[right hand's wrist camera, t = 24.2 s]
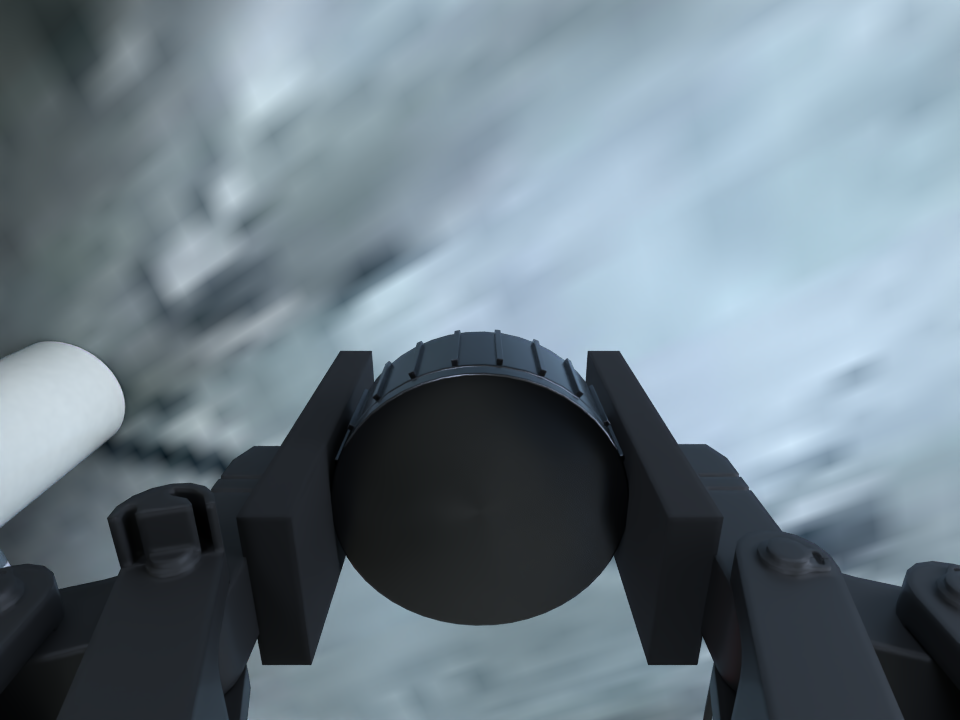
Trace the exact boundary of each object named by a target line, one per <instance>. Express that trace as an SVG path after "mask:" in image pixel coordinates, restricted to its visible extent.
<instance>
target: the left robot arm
mask: <svg viewBox="0 0 960 720" xmlns="http://www.w3.org/2000/svg"><path fill="white" fill-rule="evenodd" d="M7 566H11V565H10V564H9V562H8V561H7V558H6V557H5V555H4V554H3V552H2V550H1V549H0V568H4V567H7Z"/></svg>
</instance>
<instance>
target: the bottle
mask: <svg viewBox="0 0 960 720" xmlns="http://www.w3.org/2000/svg"><path fill="white" fill-rule="evenodd" d="M124 414H125V400H124V395H123V392H122V389H121V386H120V384H119V382H118V381H117V379H116V377H115V376H114V374H113V373H112V372H111V370H110V369H109V368H108V367H107V366H106V365H105V364H104V363H103V362H102V361H101V360H100V359H98V358H97V357H96V356H94V355H93V354H91V353H89V352H88V351H86V350H84V349H82V348H80V347H77V346H74V345H72V344H68V343H63V342H55V341H45V342H38V343H34V344H31V345H29V346H26V347H24V348H22V349H20V350H18V351H16V352H13V353H11V354H9V355H7V356H5V357H3V358H0V528H1V527H2V526H3V525H5V524H6V523H7V522H8V521H10V520H11V519H12V518H13V517H14V516H16V515H17V514H18V513H19V512H21V511H22V510H23V509H24V508H26V507H27V506H28V505H29V504H30V503H32V502H33V501H34V500H35V499H37V498H38V497H39V496H40V495H41V494H43V493H44V492H45V491H46V490H48V489H49V488H50V487H51V486H53V485H54V484H55V483H56V482H57V481H59V480H60V479H61V478H62V477H64V476H65V475H66V474H67V473H69V472H70V471H71V470H72V469H73V468H75V467H76V466H77V465H78V464H80V463H81V462H82V461H83V460H85V459H86V458H87V457H88V456H89V455H91V454H92V453H93V452H94V451H96V450H97V449H98V448H99V447H100V446H102V445H103V444H104V443H105V442H107V441H108V440H109V439H110V438H111V437H113V436H114V435H115V434H116V432H117V431H118V430H119V428H120V426H121V424H122V422H123V419H124Z"/></svg>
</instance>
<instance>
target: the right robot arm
mask: <svg viewBox="0 0 960 720" xmlns="http://www.w3.org/2000/svg"><path fill="white" fill-rule="evenodd" d="M373 383H374V375H373V361H372V351H340V352H339V354H338V356H337V357H336V359H335V360H334V362H333V364H332V365H331V367H330V368H329V370H328V371H327V373H326V375H325V376H324V378H323V379H322V381H321V383H320V384H319V386H318V387H317V389H316V391H315V392H314V394H313V395H312V397H311V399H310V400H309V402H308V403H307V405H306V406H305V408H304V410H303V411H302V413H301V414H300V416H299V418H298V419H297V421H296V422H295V424H294V426H293V427H292V429H291V430H290V432H289V433H288V435H287V437H286V438H285V440H284V441H283V443H282V445H281V446H253V447H252V448H250V449H249V450H247V451H246V452H244V453H243V454H241V455H240V456H238V457H237V458H235V459H234V460H233V461H232V462H231V463H230V465H229V466H228V467H227V469H226V470H225V471H224V473H223V474H222V475H221V479H218V481H217V482H216V483H215V485H214V486H213V488H212V489H211V491H210V490H209V489H208V488H207V487H205V486H202V485H197V484H193V483H178V484H169V485H164V486H160V487H155V488H151V489H149V490H147V491H144V492H142V493H139V494H137V495H134V496H132V497H131V498H129V499H128V500H126V501H124V502H123V503H121V504H120V505H118V506H117V507H116V508H115V509H114V510H113V512H112V513H111V514H110V515H109V516H108V518H107V520H108V523H109V527H110V531H111V534H112V538H113V541H114V545H115V549H116V552H117V556H118V560H119V563H120V567H121V569H120V572H119V574H118V576H116V577H112V578H108V579H105V580H100V581H96V582H91V583H86V584H81V585H77V586H72V587H67V588H63V589H58V586H57V583H56V580H55V577H54V574H53V572H51V571H50V570H49V569H47V568H46V567H45V566H41V565H33V564H23V565H15V566H7V567H4V568H0V720H247V717H248V707H249V698H250V681H249V675H248V670H247V664H246V663H247V661H248V659H249V656H250V654H251V652H252V649H253V647H254V645H255V643H256V640H257V638H258V644H259V650H260V655H261V661H262V665H311V664H312V661H313V658H314V655H315V652H316V649H317V645H318V642H319V639H320V636H321V633H322V629H323V626H324V623H325V620H326V617H327V614H328V610H329V607H330V604H331V601H332V598H333V594H334V591H335V588H336V585H337V582H338V579H339V575H340V572H341V569H342V566H343V563H344V559H345V556H346V555H345V553H344V551H343V549H342V546H341V544H340V542H339V540H338V537H337V534H336V531H335V528H334V523H333V514H332V505H331V484H332V478H333V473H334V469H335V466H336V464H335V457H336V455H337V453H338V450H339V448H340V446H341V444H342V441H343V439H344V437H345V434H346V432H347V430H348V429H347V427H348V424H349V422H350V420H351V418H352V415H353V413H354V411H355V409H356V406H357V404H358V402H359V400H360V397H361V395H362V393H363V391H364V389H365V388H366V389H368V390H369V389H370V387H371V386H372V385H373ZM586 383H587V385H588V386H591V385H593V387H594V388H595V390H596V393H597V395H598V397H599V399H600V401H601V404H602V406H603V408H604V410H605V413H606V415H607V417H608V419H609V422H610V424H611V426H612V428H613V431H614V433H615V435H616V437H617V440H618V442H619V444H620V446H621V449H622V451H623V453H624V456H625V460H622V461H623V463H624V466H625V470H626V474H627V478H628V485H629V501H628V511H627V520H626V527H625V531H624V534H623V536H622V539H621V542H620V544H619V547H618V548H617V550H616V552H615V554H614V557H615V561H616V564H617V567H618V570H619V573H620V576H621V580H622V583H623V586H624V589H625V592H626V596H627V599H628V602H629V605H630V608H631V612H632V615H633V618H634V621H635V624H636V627H637V631H638V634H639V637H640V640H641V643H642V647H643V650H644V653H645V656H646V659H647V662H648V665H697V664H698V659H699V653H700V647H701V642H702V636H703V638H704V640H705V643H706V645H707V647H708V650H709V652H710V654H711V656H712V659H713V661H714V664H713V669H712V675H711V680H710V685H709V690H708V696H707V701H706V706H705V711H704V718H703V720H712V715H713V720H960V565H956V564H950V563H943V562H935V561H930V562H922V563H916V564H915V565H913V566H912V567H911V568H909V569H908V570H907V572H906V575H905V578H904V581H903V585H902V587H900V586H895V585H891V584H886V583H881V582H876V581H872V580H867V579H862V578H857V577H853V576H850V575H846V574H843V573H841V571H840V568H839V567H838V565H837V564H836V563H835V561H834V560H833V558H832V557H831V556H830V555H829V554H828V553H827V552H825V551H824V550H823V549H821V548H820V547H819V546H817V545H816V544H814V543H812V542H810V541H808V540H806V539H804V538H801V537H799V536H797V535H793V534H790V533H786V532H782V531H781V529H780V528H779V527H778V525H777V524H776V523H775V521H774V520H773V519H772V517H771V516H770V515H769V513H768V512H767V511H766V509H765V508H764V507H763V505H762V504H761V503H760V501H759V500H758V499H757V497H756V496H755V495H754V493H753V492H752V491H751V490H749V487H748V485H747V484H746V483H745V481H744V480H743V479H742V477H739V473H738V472H737V471H736V469H735V468H734V467H733V465H732V464H731V463H730V462H729V460H728V459H727V458H726V457H725V456H723V455H722V454H720V453H719V452H717V451H715V450H714V449H712V448H711V447H709V446H708V445H706V444H677V442H676V440H675V439H674V437H673V436H672V434H671V433H670V431H669V429H668V428H667V426H666V425H665V423H664V421H663V420H662V418H661V417H660V415H659V413H658V412H657V410H656V409H655V407H654V405H653V404H652V402H651V401H650V399H649V398H648V396H647V394H646V393H645V391H644V390H643V388H642V386H641V385H640V383H639V382H638V380H637V378H636V377H635V375H634V374H633V372H632V370H631V369H630V367H629V366H628V364H627V363H626V361H625V359H624V358H623V356H622V355H621V353H620V351H588V355H587V370H586Z"/></svg>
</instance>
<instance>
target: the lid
mask: <svg viewBox="0 0 960 720" xmlns="http://www.w3.org/2000/svg"><path fill="white" fill-rule="evenodd" d="M347 429H348V430H347V432H346V434H345V437H344V439H343V441H342V444H341V446H340V448H339V450H338V453H337V455H336V457H335V464H336V466H335V469H334V473H333V478H332V484H331V505H332V514H333V523H334V528H335V531H336V534H337V537H338V540H339V542H340V544H341V546H342V549H343V551H344V553H345V555H346V556H347V558H348V559H349V561H350V562H351V564H352V565H353V567H354V568H355V569H356V570H357V572H358V573H359V574H360V575H361V576H362V577H363V578H364V580H365V581H366V582H368V583H369V584H370V585H371V586H372V587H373V588H374V589H375V590H377V591H378V592H379V593H380V594H382V595H383V596H385V597H386V598H388V599H389V600H391V601H392V602H394V603H396V604H398V605H399V606H401V607H403V608H405V609H407V610H409V611H412V612H414V613H417V614H419V615H421V616H424V617H428V618H431V619H435V620H438V621H442V622H448V623H454V624H461V625H475V626H479V625H498V624H506V623H513V622H517V621H521V620H525V619H529V618H532V617H535V616H538V615H541V614H544V613H546V612H548V611H550V610H552V609H555V608H557V607H559V606H561V605H563V604H564V603H566V602H567V601H569V600H571V599H572V598H574V597H575V596H577V595H578V594H579V593H580V592H582V591H583V590H584V589H586V588H587V587H588V586H589V585H590V584H591V583H592V582H593V581H594V580H595V579H596V578H597V577H598V576H599V575H600V574H601V573H602V571H603V570H604V569H605V567H606V566H607V565H608V563H609V562H610V561H611V559H612V557H613V556H614V554H615V552H616V550H617V548H618V547H619V544H620V542H621V539H622V536H623V534H624V531H625V527H626V520H627V511H628V501H629V485H628V478H627V474H626V470H625V466H624V463H623V461H622V460H625V456H624V453H623V451H622V449H621V446H620V444H619V442H618V440H617V437H616V435H615V433H614V431H613V428H612V426H611V424H610V422H609V419H608V417H607V415H606V413H605V410H604V408H603V406H602V404H601V401H600V399H599V397H598V395H597V393H596V390H595V388H594V387H593V385H591V386H588V385H587V383H586V382H585V381H584V379H583V378H582V377H581V376H580V375H579V373H578V372H577V371H576V370H575V369H574V368H573V365H572V363H571V361H570V360H569V359H568V358H567V359H566V360H563V359H562V358H561V357H559V356H558V355H556V354H555V353H553V352H552V351H550V350H548V349H546V348H544V347H542V346H541V345H539V341H537V340H535V339H533V341H532V342H531V341H529V340H526V339H523V338H520V337H516V336H512V335H507V334H503V333H501V332H500V330H495V332H494V333H493V332H465V333H461V332H460V330H458V331H455V333H454V334H452V335H447V336H444V337H440V338H437V339H434V340H431V341H428V342H426V343H424V344H423V342H422V341H420V342H418V343H417V345H416V347H415V348H413V349H412V350H410V351H408V352H407V353H405V354H403V355H402V356H400V357H399V358H398V359H397V360H395V361H394V362H393V363H391V362H390V361H389V362H387V363H386V364H385V367H384V369H383V372H382V373H381V374H380V376H379V377H378V378H377V379H376V380H375V382H374V383H373V385H372V386H371V387H370V389H369V390H368V389H366V388H365V389H364V391H363V393H362V395H361V397H360V400H359V402H358V404H357V406H356V409H355V411H354V413H353V415H352V418H351V420H350V422H349V424H348V427H347Z"/></svg>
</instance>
